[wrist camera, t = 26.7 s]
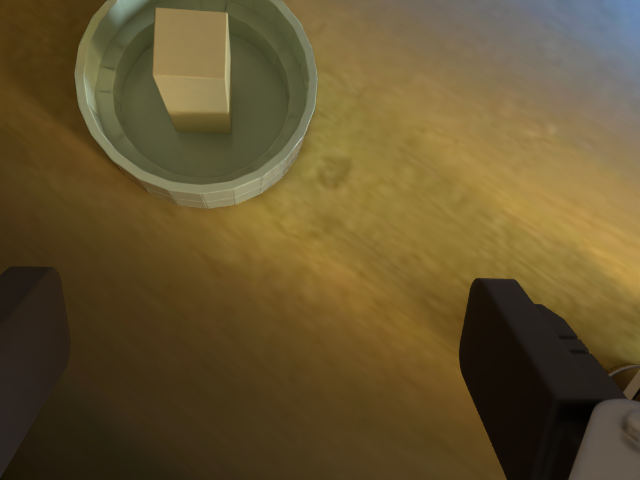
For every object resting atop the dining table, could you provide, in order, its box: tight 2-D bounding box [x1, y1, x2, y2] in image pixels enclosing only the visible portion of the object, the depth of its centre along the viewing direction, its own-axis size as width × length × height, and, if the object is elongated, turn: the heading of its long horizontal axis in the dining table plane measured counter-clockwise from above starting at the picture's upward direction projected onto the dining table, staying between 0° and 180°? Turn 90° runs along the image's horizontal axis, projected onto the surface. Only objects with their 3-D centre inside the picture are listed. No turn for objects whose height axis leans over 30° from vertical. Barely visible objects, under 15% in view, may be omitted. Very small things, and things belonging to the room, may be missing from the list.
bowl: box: [74, 0, 318, 209], centre depth 38 cm, size 15×15×6 cm
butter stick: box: [152, 7, 232, 134], centre depth 36 cm, size 4×4×10 cm
